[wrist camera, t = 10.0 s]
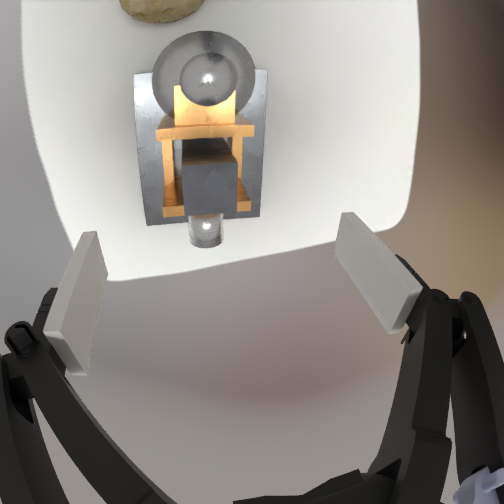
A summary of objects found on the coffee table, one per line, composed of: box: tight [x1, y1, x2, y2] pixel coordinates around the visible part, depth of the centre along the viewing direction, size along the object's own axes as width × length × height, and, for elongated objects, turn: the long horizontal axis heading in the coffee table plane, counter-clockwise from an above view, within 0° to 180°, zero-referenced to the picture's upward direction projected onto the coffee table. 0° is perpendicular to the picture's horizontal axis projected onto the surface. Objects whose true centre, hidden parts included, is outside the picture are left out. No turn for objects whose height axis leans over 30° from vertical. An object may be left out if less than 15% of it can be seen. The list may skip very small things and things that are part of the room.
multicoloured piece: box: [134, 31, 268, 248], centre depth 26 cm, size 22×14×12 cm, turn 178°
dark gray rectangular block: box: [181, 137, 238, 216], centre depth 26 cm, size 4×4×12 cm
